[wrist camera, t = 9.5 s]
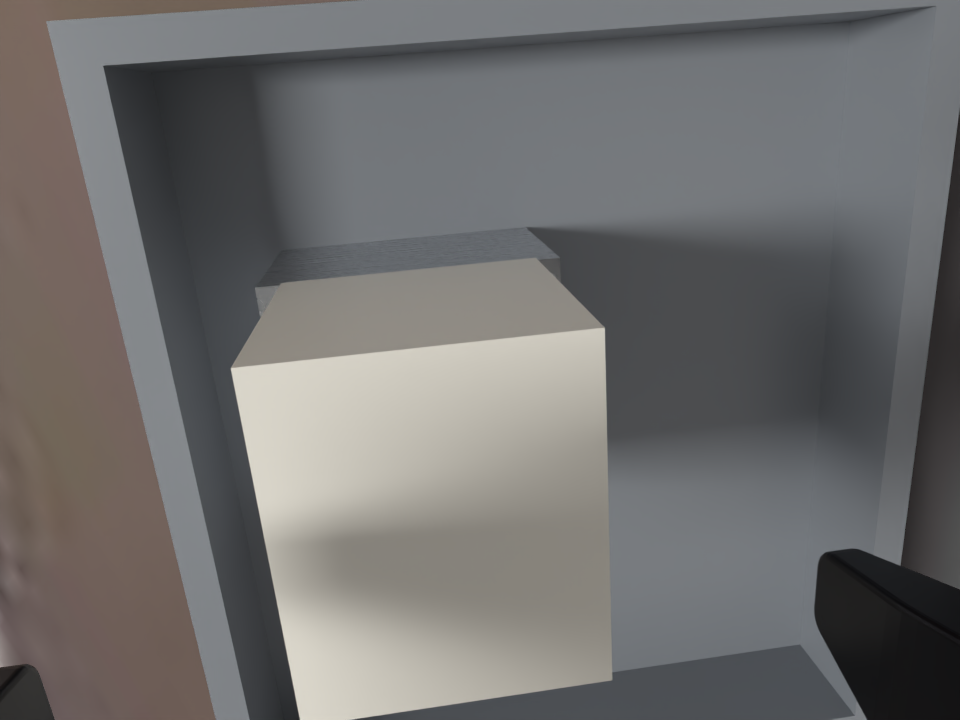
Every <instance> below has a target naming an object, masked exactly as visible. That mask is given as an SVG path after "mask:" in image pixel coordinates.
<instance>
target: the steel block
mask: <svg viewBox="0 0 960 720" xmlns="http://www.w3.org/2000/svg"><path fill="white" fill-rule="evenodd" d="M527 258H537V259H538V260H539V261H540V262H541V263H542V264H543V265H544V266H545V267H546V268H547V269H548V270H549V272H550V273H551V274H552V275H553V276H554V277H555V278H556V279H557V280H558V281H559V282H560V283H561V268H560V257H559V256H558V255H556V254H555V253H554V252H553V251H552V250H551V249H550V248H548V247H547V246H546V245H545V244H544V243H543V242H542V241H540V240H539V239H538V238H537V237H536V236H535V235H534V234H532V233H531V232H530V231H529V230H528V229H527V228H526V227H522V228H511V229H501V230H490V231H479V232H469V233H458V234H448V235H437V236H427V237H416V238H405V239H395V240H384V241H374V242H363V243H353V244H342V245H331V246H321V247H310V248H300V249H289V250H282V251H281V252H280V254H279V255H278V256H277V258H276V259H275V261H274V262H273V263H272V265H271V266H270V267H269V269H268V270H267V272H266V273H265V274H264V276H263V277H262V279H261V280H260V281H259V283H258V284H257V285H256V287H255V291H256V297H257V303H258V308H259V314H260V318H261V316H262V315H263V313H264V311H265V309H266V308H267V306H268V304H269V303H270V301H271V299H272V298H273V296H274V294H275V293H276V291H277V289H278V288H279V286H280V284H281V283H286V282H296V281H306V280H316V279H326V278H336V277H346V276H356V275H366V274H376V273H386V272H396V271H406V270H417V269H427V268H437V267H447V266H457V265H467V264H477V263H487V262H497V261H507V260H517V259H527Z"/></svg>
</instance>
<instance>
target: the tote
mask: <svg viewBox="0 0 960 720" xmlns="http://www.w3.org/2000/svg"><path fill="white" fill-rule="evenodd" d="M46 22H47V26H48V30H49V34H50V38H51V42H52V47H53V51H54V55H55V59H56V63H57V67H58V71H59V75H60V79H61V84H62V88H63V92H64V96H65V100H66V104H67V108H68V112H69V117H70V121H71V125H72V129H73V133H74V137H75V141H76V145H77V149H78V154H79V158H80V162H81V166H82V170H83V174H84V178H85V182H86V186H87V191H88V195H89V199H90V203H91V207H92V211H93V215H94V219H95V224H96V228H97V232H98V236H99V240H100V244H101V248H102V252H103V256H104V261H105V265H106V269H107V273H108V277H109V281H110V285H111V289H112V294H113V298H114V302H115V306H116V310H117V314H118V318H119V322H120V326H121V331H122V335H123V339H124V343H125V347H126V351H127V355H128V359H129V363H130V368H131V372H132V376H133V380H134V384H135V388H136V392H137V396H138V401H139V405H140V409H141V413H142V417H143V421H144V425H145V429H146V433H147V438H148V442H149V446H150V450H151V454H152V458H153V462H154V466H155V470H156V475H157V479H158V483H159V487H160V491H161V495H162V499H163V503H164V508H165V512H166V516H167V520H168V524H169V528H170V532H171V536H172V540H173V545H174V549H175V553H176V557H177V561H178V565H179V569H180V573H181V577H182V582H183V586H184V590H185V594H186V598H187V602H188V606H189V610H190V615H191V619H192V623H193V627H194V631H195V635H196V639H197V643H198V647H199V652H200V656H201V660H202V664H203V668H204V672H205V676H206V680H207V684H208V689H209V693H210V697H211V701H212V705H213V709H214V713H215V717H216V720H300V717H299V712H298V707H297V702H296V697H295V692H294V687H293V682H292V677H291V672H290V667H289V661H288V656H287V651H286V646H285V641H284V636H283V631H282V626H281V621H280V616H279V611H278V606H277V601H276V596H275V590H274V585H273V580H272V575H271V570H270V565H269V560H268V555H267V550H266V545H265V540H264V535H263V530H262V525H261V520H260V514H259V509H258V504H257V499H256V494H255V489H254V484H253V479H252V474H251V469H250V464H249V459H248V454H247V449H246V443H245V438H244V433H243V428H242V423H241V418H240V413H239V408H238V403H237V398H236V393H235V388H234V383H233V378H232V372H231V367H232V365H233V363H234V362H235V360H236V358H237V357H238V355H239V353H240V352H241V350H242V348H243V347H244V345H245V343H246V341H247V340H248V338H249V336H250V335H251V333H252V331H253V330H254V328H255V326H256V325H257V323H258V321H259V320H260V314H259V308H258V303H257V297H256V291H255V287H256V285H257V284H258V283H259V281H260V280H261V279H262V277H263V276H264V274H265V273H266V272H267V270H268V269H269V267H270V266H271V265H272V263H273V262H274V261H275V259H276V258H277V256H278V255H279V254H280V252H281V251H282V250H289V249H300V248H310V247H321V246H331V245H342V244H353V243H363V242H374V241H384V240H395V239H405V238H416V237H427V236H437V235H448V234H458V233H469V232H479V231H490V230H501V229H511V228H522V227H526V228H527V229H528V230H529V231H530V232H531V233H532V234H534V235H535V236H536V237H537V238H538V239H539V240H540V241H542V242H543V243H544V244H545V245H546V246H547V247H548V248H550V249H551V250H552V251H553V252H554V253H555V254H556V255H558V256H559V257H560V268H561V284H562V285H563V286H564V287H565V288H566V289H567V290H568V291H569V292H570V293H571V294H572V295H573V296H574V297H575V298H576V299H577V300H578V301H579V302H580V303H581V304H582V305H583V306H584V307H585V308H586V309H587V310H588V311H589V312H590V313H591V314H592V315H593V316H594V317H595V318H596V319H597V320H598V321H599V322H600V323H601V324H602V325H603V326H604V327H605V360H606V407H607V453H608V500H609V546H610V593H611V639H612V680H611V681H604V682H598V683H591V684H585V685H578V686H571V687H565V688H558V689H551V690H545V691H538V692H531V693H525V694H518V695H511V696H505V697H498V698H492V699H485V700H478V701H472V702H465V703H458V704H452V705H445V706H438V707H432V708H425V709H418V710H412V711H405V712H399V713H392V714H385V715H379V716H372V717H365V718H359V719H352V720H867V719H866V717H865V715H864V713H863V712H862V710H861V708H860V706H859V704H858V702H857V700H856V699H855V697H854V695H853V693H852V691H851V689H850V688H849V686H848V684H847V682H846V680H845V678H844V676H843V675H842V673H841V671H840V669H839V667H838V665H837V663H836V662H835V660H834V658H833V656H832V654H831V652H830V651H829V649H828V647H827V645H826V643H825V641H824V639H823V638H822V636H821V634H820V632H819V630H818V627H817V624H816V621H815V616H814V602H815V590H816V578H817V566H818V561H819V559H820V556H821V555H822V554H824V553H825V552H829V551H836V550H843V549H850V548H855V549H860V550H862V551H865V552H867V553H870V554H872V555H875V556H877V557H880V558H882V559H885V560H887V561H890V562H892V563H895V564H897V565H901V557H902V549H903V542H904V534H905V526H906V519H907V511H908V503H909V495H910V488H911V480H912V472H913V465H914V457H915V449H916V442H917V434H918V426H919V418H920V411H921V403H922V395H923V388H924V380H925V372H926V364H927V357H928V349H929V341H930V334H931V326H932V318H933V310H934V303H935V295H936V287H937V280H938V272H939V264H940V256H941V249H942V241H943V233H944V226H945V218H946V210H947V202H948V195H949V187H950V179H951V172H952V164H953V156H954V148H955V141H956V133H957V125H958V118H959V110H960V0H359V1H344V2H329V3H314V4H299V5H284V6H269V7H254V8H239V9H224V10H209V11H194V12H179V13H164V14H149V15H134V16H119V17H104V18H89V19H74V20H59V21H46Z"/></svg>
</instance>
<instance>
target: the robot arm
mask: <svg viewBox="0 0 960 720" xmlns="http://www.w3.org/2000/svg"><path fill="white" fill-rule="evenodd" d="M814 616H815V621H816V624H817V627H818V630H819V632H820V634H821V636H822V638H823V639H824V641H825V643H826V645H827V647H828V649H829V651H830V652H831V654H832V656H833V658H834V660H835V662H836V663H837V665H838V667H839V669H840V671H841V673H842V675H843V676H844V678H845V680H846V682H847V684H848V686H849V688H850V689H851V691H852V693H853V695H854V697H855V699H856V700H857V702H858V704H859V706H860V708H861V710H862V712H863V713H864V715H865V717H866V719H867V720H960V590H959V589H957V588H955V587H952V586H950V585H947V584H945V583H942V582H940V581H937V580H935V579H932V578H930V577H927V576H925V575H922V574H920V573H917V572H915V571H912V570H910V569H907V568H905V567H902V566H900V565H897V564H895V563H892V562H890V561H887V560H885V559H882V558H880V557H877V556H875V555H872V554H870V553H867V552H865V551H862V550H860V549H855V548H850V549H843V550H836V551H829V552H825V553H824V554H822V555H821V556H820V559H819V561H818V566H817V578H816V590H815V602H814ZM0 720H54V716H53V713H52V710H51V707H50V704H49V701H48V699H47V696H46V693H45V690H44V687H43V684H42V681H41V678H40V675H39V673H38V671H37V670H36V669H35V667H33V666H31V665H28V664H22V665H15V666H8V667H1V668H0Z"/></svg>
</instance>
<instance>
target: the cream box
mask: <svg viewBox="0 0 960 720" xmlns="http://www.w3.org/2000/svg"><path fill="white" fill-rule="evenodd" d="M231 372H232V378H233V383H234V388H235V393H236V398H237V403H238V408H239V413H240V418H241V423H242V428H243V433H244V438H245V443H246V449H247V454H248V459H249V464H250V469H251V474H252V479H253V484H254V489H255V494H256V499H257V504H258V509H259V514H260V520H261V525H262V530H263V535H264V540H265V545H266V550H267V555H268V560H269V565H270V570H271V575H272V580H273V585H274V590H275V596H276V601H277V606H278V611H279V616H280V621H281V626H282V631H283V636H284V641H285V646H286V651H287V656H288V661H289V667H290V672H291V677H292V682H293V687H294V692H295V697H296V702H297V707H298V712H299V717H300V720H352V719H359V718H365V717H372V716H379V715H385V714H392V713H399V712H405V711H412V710H418V709H425V708H432V707H438V706H445V705H452V704H458V703H465V702H472V701H478V700H485V699H492V698H498V697H505V696H511V695H518V694H525V693H531V692H538V691H545V690H551V689H558V688H565V687H571V686H578V685H585V684H591V683H598V682H604V681H611V680H612V639H611V593H610V546H609V500H608V453H607V407H606V360H605V327H604V326H603V325H602V324H601V323H600V322H599V321H598V320H597V319H596V318H595V317H594V316H593V315H592V314H591V313H590V312H589V311H588V310H587V309H586V308H585V307H584V306H583V305H582V304H581V303H580V302H579V301H578V300H577V299H576V298H575V297H574V296H573V295H572V294H571V293H570V292H569V291H568V290H567V289H566V288H565V287H564V286H563V285H562V284H561V283H560V282H559V281H558V280H557V279H556V278H555V277H554V276H553V275H552V274H551V273H550V272H549V270H548V269H547V268H546V267H545V266H544V265H543V264H542V263H541V262H540V261H539V260H538V259H537V258H527V259H517V260H507V261H497V262H487V263H477V264H467V265H457V266H447V267H437V268H427V269H417V270H406V271H396V272H386V273H376V274H366V275H356V276H346V277H336V278H326V279H316V280H306V281H296V282H286V283H281V284H280V286H279V288H278V289H277V291H276V293H275V294H274V296H273V298H272V299H271V301H270V303H269V304H268V306H267V308H266V309H265V311H264V313H263V315H262V316H261V318H260V320H259V321H258V323H257V325H256V326H255V328H254V330H253V331H252V333H251V335H250V336H249V338H248V340H247V341H246V343H245V345H244V347H243V348H242V350H241V352H240V353H239V355H238V357H237V358H236V360H235V362H234V363H233V365H232V367H231Z"/></svg>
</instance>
